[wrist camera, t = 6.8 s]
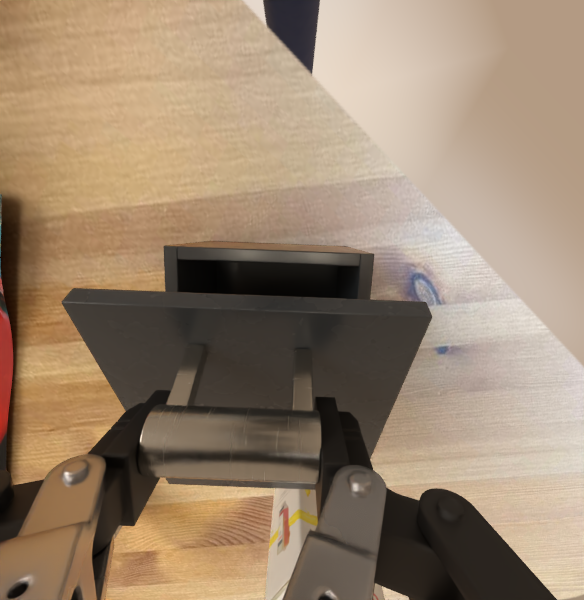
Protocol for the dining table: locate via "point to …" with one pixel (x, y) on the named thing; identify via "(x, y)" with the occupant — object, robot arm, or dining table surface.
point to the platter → (4, 367)
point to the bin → (268, 269)
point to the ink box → (291, 538)
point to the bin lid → (247, 376)
